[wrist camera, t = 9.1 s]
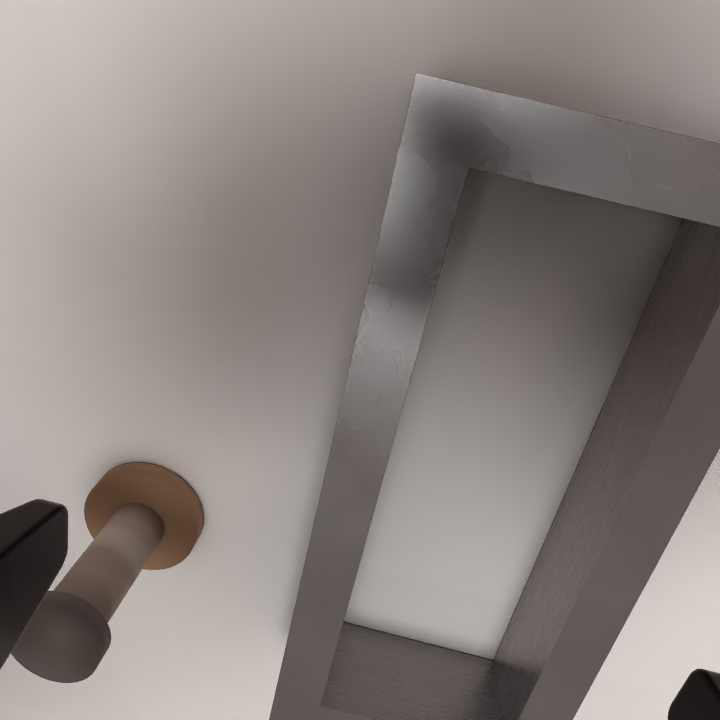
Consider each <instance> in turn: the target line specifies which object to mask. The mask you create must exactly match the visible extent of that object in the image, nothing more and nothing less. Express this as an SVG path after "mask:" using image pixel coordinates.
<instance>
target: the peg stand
mask: <svg viewBox="0 0 720 720" xmlns="http://www.w3.org/2000/svg"><path fill="white" fill-rule="evenodd" d="M84 514H85V521H86V524H87V527H88V530H89V532H90V534H91V535H92V537H93V538H94V540H93V541H92V543H91V544H90V545H89V547H88V548H87V549H86V550H85V552H84V553H83V554H82V555H81V557H80V558H79V559H78V560H77V562H76V563H75V564H74V565H73V567H72V568H71V569H70V570H69V572H68V573H67V574H66V576H65V577H64V578H63V579H62V581H61V582H60V583H59V584H58V586H57V587H56V588H55V589H54V591H47V593H46V594H45V596H44V598H43V600H42V601H41V603H40V605H39V606H38V608H37V610H36V611H35V613H34V615H33V616H32V618H31V620H30V621H29V623H28V625H27V627H26V628H25V630H24V632H23V633H22V635H21V637H20V638H19V640H18V642H17V643H16V645H15V647H14V648H13V650H12V652H11V654H12V655H13V656H14V658H15V659H16V660H17V661H18V662H19V663H20V664H21V665H22V666H23V667H25V668H26V669H27V670H29V671H30V672H32V673H34V674H36V675H38V676H40V677H42V678H45V679H47V680H51V681H55V682H61V683H73V682H78V681H82V680H84V679H86V678H88V677H89V676H90V675H92V673H93V672H94V671H95V669H96V668H97V666H98V664H99V663H100V661H101V659H102V658H103V656H104V655H105V653H106V651H107V650H108V648H109V646H110V643H111V632H110V628H109V626H108V624H107V623H108V622H109V620H110V618H111V617H112V615H113V614H114V612H115V611H116V609H117V607H118V606H119V604H120V603H121V601H122V600H123V598H124V596H125V595H126V593H127V592H128V590H129V589H130V587H131V586H132V584H133V582H134V581H135V579H136V578H137V576H138V575H139V573H140V571H141V570H142V569H147V570H159V569H166V568H170V567H172V566H175V565H177V564H178V563H180V562H181V561H183V560H184V559H185V558H186V557H187V556H188V555H189V553H190V552H191V550H192V548H193V547H194V545H195V543H196V541H197V539H198V538H199V536H200V534H201V531H202V528H203V524H204V515H203V509H202V506H201V503H200V501H199V499H198V497H197V495H196V494H195V492H194V491H193V489H192V488H191V487H190V486H189V485H188V484H187V483H186V482H185V481H184V480H183V479H182V478H180V477H179V476H178V475H176V474H175V473H173V472H171V471H169V470H168V469H165V468H163V467H160V466H157V465H154V464H149V463H140V462H136V463H127V464H123V465H120V466H117V467H115V468H113V469H112V470H110V471H109V472H108V473H107V474H106V475H105V476H104V477H103V478H102V479H101V480H100V481H99V482H98V483H97V485H96V486H95V487H94V488H93V489H92V490H91V492H90V493H89V495H88V497H87V499H86V502H85V508H84Z"/></svg>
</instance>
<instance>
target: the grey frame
mask: <svg viewBox="0 0 720 720" xmlns="http://www.w3.org/2000/svg"><path fill="white" fill-rule="evenodd" d="M468 168H473V169H477V170H481V171H486V172H490V173H494V174H498V175H502V176H507V177H511V178H515V179H519V180H524V181H528V182H532V183H536V184H540V185H545V186H549V187H553V188H557V189H562V190H566V191H570V192H574V193H578V194H583V195H587V196H591V197H595V198H600V199H604V200H608V201H612V202H617V203H621V204H625V205H629V206H633V207H638V208H642V209H646V210H650V211H655V212H659V213H663V214H667V215H671V216H676V217H680V218H684V221H683V223H682V225H681V228H680V230H679V232H678V235H677V237H676V239H675V242H674V244H673V246H672V249H671V251H670V253H669V255H668V258H667V260H666V262H665V265H664V267H663V269H662V272H661V274H660V276H659V279H658V281H657V283H656V286H655V288H654V290H653V292H652V295H651V297H650V299H649V302H648V304H647V306H646V309H645V311H644V313H643V316H642V318H641V320H640V323H639V325H638V327H637V329H636V332H635V334H634V336H633V339H632V341H631V343H630V346H629V348H628V350H627V353H626V355H625V357H624V359H623V362H622V364H621V366H620V369H619V371H618V373H617V376H616V378H615V380H614V383H613V385H612V387H611V390H610V392H609V394H608V396H607V399H606V401H605V403H604V406H603V408H602V410H601V413H600V415H599V417H598V420H597V422H596V424H595V427H594V429H593V431H592V433H591V436H590V438H589V440H588V443H587V445H586V447H585V450H584V452H583V454H582V457H581V459H580V461H579V464H578V466H577V468H576V470H575V473H574V475H573V477H572V480H571V482H570V484H569V487H568V489H567V491H566V494H565V496H564V498H563V501H562V503H561V505H560V507H559V510H558V512H557V514H556V517H555V519H554V521H553V524H552V526H551V528H550V531H549V533H548V535H547V537H546V540H545V542H544V544H543V547H542V549H541V551H540V554H539V556H538V558H537V561H536V563H535V565H534V568H533V570H532V572H531V574H530V577H529V579H528V581H527V584H526V586H525V588H524V591H523V593H522V595H521V598H520V600H519V602H518V605H517V607H516V609H515V611H514V614H513V616H512V618H511V621H510V623H509V625H508V628H507V630H506V632H505V635H504V637H503V639H502V642H501V644H500V646H499V648H498V651H497V653H496V655H495V658H494V660H493V661H492V660H488V659H484V658H480V657H476V656H472V655H468V654H464V653H461V652H457V651H453V650H449V649H445V648H441V647H437V646H434V645H430V644H426V643H422V642H418V641H414V640H410V639H406V638H403V637H399V636H395V635H391V634H387V633H383V632H379V631H375V630H372V629H368V628H364V627H360V626H356V625H352V624H348V623H344V622H343V621H344V617H345V614H346V610H347V607H348V603H349V599H350V596H351V592H352V589H353V585H354V581H355V578H356V574H357V570H358V567H359V563H360V560H361V556H362V552H363V549H364V545H365V541H366V538H367V534H368V531H369V527H370V523H371V520H372V516H373V512H374V509H375V505H376V502H377V498H378V494H379V491H380V487H381V483H382V480H383V476H384V473H385V469H386V465H387V462H388V458H389V455H390V451H391V447H392V444H393V440H394V436H395V433H396V429H397V426H398V422H399V418H400V415H401V411H402V407H403V404H404V400H405V397H406V393H407V389H408V386H409V382H410V378H411V375H412V371H413V368H414V364H415V360H416V357H417V353H418V349H419V346H420V342H421V339H422V335H423V331H424V328H425V324H426V320H427V317H428V313H429V310H430V306H431V302H432V299H433V295H434V292H435V288H436V284H437V281H438V277H439V273H440V270H441V266H442V263H443V259H444V255H445V252H446V248H447V244H448V241H449V237H450V234H451V230H452V226H453V223H454V219H455V215H456V212H457V208H458V205H459V201H460V197H461V194H462V190H463V186H464V183H465V179H466V176H467V172H468ZM719 448H720V144H718V143H714V142H710V141H706V140H701V139H697V138H693V137H688V136H684V135H680V134H675V133H671V132H667V131H663V130H658V129H654V128H650V127H645V126H641V125H637V124H633V123H628V122H624V121H620V120H615V119H611V118H607V117H603V116H598V115H594V114H590V113H585V112H581V111H577V110H572V109H568V108H564V107H560V106H555V105H551V104H547V103H542V102H538V101H534V100H530V99H525V98H521V97H517V96H512V95H508V94H504V93H500V92H495V91H491V90H487V89H482V88H478V87H474V86H470V85H465V84H461V83H457V82H452V81H448V80H444V79H439V78H435V77H431V76H427V75H422V74H418V73H416V77H415V81H414V86H413V90H412V94H411V99H410V103H409V108H408V112H407V116H406V121H405V125H404V130H403V134H402V138H401V143H400V147H399V152H398V156H397V160H396V165H395V169H394V174H393V178H392V182H391V187H390V191H389V196H388V200H387V204H386V209H385V213H384V218H383V222H382V226H381V231H380V235H379V239H378V244H377V248H376V253H375V257H374V261H373V266H372V270H371V275H370V279H369V283H368V288H367V292H366V297H365V301H364V305H363V310H362V314H361V319H360V323H359V327H358V332H357V336H356V341H355V345H354V349H353V354H352V358H351V363H350V367H349V371H348V376H347V380H346V385H345V389H344V393H343V398H342V402H341V407H340V411H339V415H338V420H337V424H336V428H335V433H334V437H333V442H332V446H331V450H330V455H329V459H328V464H327V468H326V472H325V477H324V481H323V486H322V490H321V494H320V499H319V503H318V508H317V512H316V516H315V521H314V525H313V530H312V534H311V538H310V543H309V547H308V552H307V556H306V560H305V565H304V569H303V574H302V578H301V582H300V587H299V591H298V596H297V600H296V604H295V609H294V613H293V618H292V622H291V626H290V631H289V635H288V639H287V644H286V648H285V653H284V657H283V661H282V666H281V670H280V675H279V679H278V683H277V688H276V692H275V697H274V701H273V705H272V710H271V714H270V719H269V720H573V718H574V716H575V715H576V713H577V711H578V709H579V707H580V705H581V703H582V702H583V700H584V698H585V696H586V694H587V692H588V691H589V689H590V687H591V685H592V683H593V681H594V679H595V678H596V676H597V674H598V672H599V670H600V668H601V667H602V665H603V663H604V661H605V659H606V657H607V655H608V654H609V652H610V650H611V648H612V646H613V644H614V643H615V641H616V639H617V637H618V635H619V633H620V631H621V630H622V628H623V626H624V624H625V622H626V620H627V618H628V617H629V615H630V613H631V611H632V609H633V607H634V606H635V604H636V602H637V600H638V598H639V596H640V594H641V593H642V591H643V589H644V587H645V585H646V583H647V582H648V580H649V578H650V576H651V574H652V572H653V570H654V569H655V567H656V565H657V563H658V561H659V559H660V558H661V556H662V554H663V552H664V550H665V548H666V546H667V545H668V543H669V541H670V539H671V537H672V535H673V533H674V532H675V530H676V528H677V526H678V524H679V522H680V521H681V519H682V517H683V515H684V513H685V511H686V509H687V508H688V506H689V504H690V502H691V500H692V498H693V497H694V495H695V493H696V491H697V489H698V487H699V485H700V484H701V482H702V480H703V478H704V476H705V474H706V473H707V471H708V469H709V467H710V465H711V463H712V461H713V460H714V458H715V456H716V454H717V452H718V450H719Z"/></svg>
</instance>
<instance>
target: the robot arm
mask: <svg viewBox="0 0 720 720" xmlns="http://www.w3.org/2000/svg"><path fill="white" fill-rule="evenodd" d="M67 550H68V511H67V508H66V507H65V506H64V505H62V504H59V503H55V502H51V501H47V500H43V499H36V500H33V501H30V502H27V503H25V504H23V505H20V506H18V507H16V508H13V509H11V510H9V511H6V512H4V513H1V514H0V669H1V668H2V666H3V665H4V663H5V661H6V660H7V658H8V657H9V655H10V653H11V652H12V650H13V648H14V647H15V645H16V643H17V642H18V640H19V638H20V637H21V635H22V633H23V632H24V630H25V628H26V627H27V625H28V623H29V621H30V620H31V618H32V616H33V615H34V613H35V611H36V610H37V608H38V606H39V605H40V603H41V601H42V600H43V598H44V596H45V594H46V593H47V591H48V589H49V588H50V586H51V584H52V583H53V581H54V579H55V578H56V576H57V574H58V572H59V571H60V569H61V567H62V565H63V563H64V561H65V558H66V555H67ZM668 720H720V673H716V672H712V671H708V670H704V669H696V670H695V671H693V672H692V673H691V674H690V675H689V677H688V678H687V680H686V682H685V683H684V685H683V686H682V688H681V689H680V691H679V693H678V694H677V696H676V697H675V699H674V701H673V702H672V704H671V706H670V709H669V713H668Z"/></svg>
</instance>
